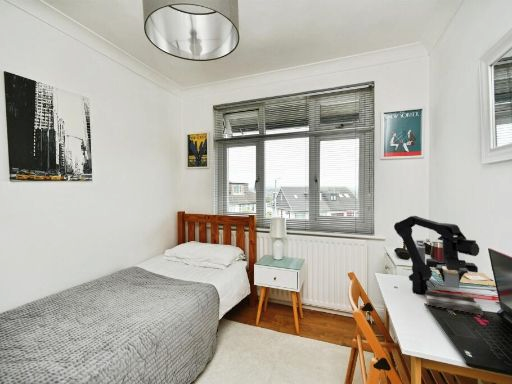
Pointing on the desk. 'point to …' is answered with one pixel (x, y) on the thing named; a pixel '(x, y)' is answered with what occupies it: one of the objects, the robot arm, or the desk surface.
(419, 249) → the flask
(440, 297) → the rail board
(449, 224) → the robot arm
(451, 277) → the module
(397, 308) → the desk surface
